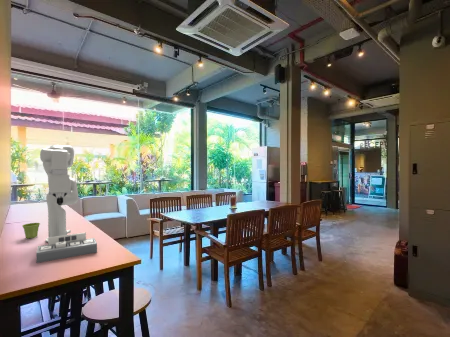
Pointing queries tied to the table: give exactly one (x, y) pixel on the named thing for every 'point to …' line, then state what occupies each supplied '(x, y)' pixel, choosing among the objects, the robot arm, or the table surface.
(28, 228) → the plant pot
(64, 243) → the key
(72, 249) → the keyboard
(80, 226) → the table surface
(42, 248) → the key
